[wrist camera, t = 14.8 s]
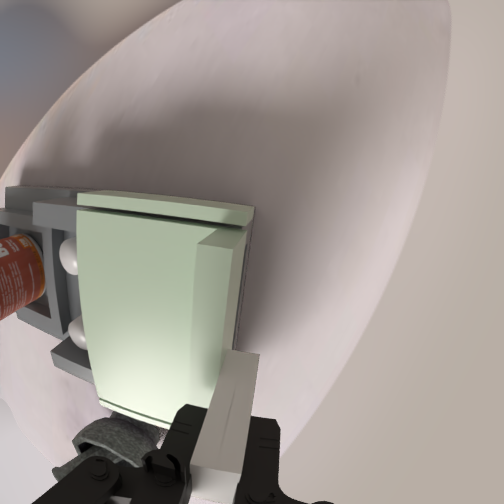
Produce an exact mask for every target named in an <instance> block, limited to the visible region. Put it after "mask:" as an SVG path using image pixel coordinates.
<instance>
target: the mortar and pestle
mask: <svg viewBox="0 0 504 504" xmlns="http://www.w3.org/2000/svg"><path fill="white" fill-rule="evenodd" d="M158 441H159V431H158V430H157V428H156V427H155V426H154V425H153V424H149V423H146V422H144V421H141V420H138V419H135V418H132V417H129V416H127V415H124V414H122V413H119V412H116V411H115V412H113V413H112V415H111V416H110V418H106V417H105V418H102V419H99V420H96V421H94V422H92V423H91V424H89V425H87V426H86V427H85V428H84V429H82V430H81V431H80V432H79V433H78V434H77V435H76V436H75V438H74V439H73V440H72V443H73V445H74V447H75V449H76V451H77V453H78V456H77V457H75V458H74V459H72V460H71V461H69V462H68V463H66V464H64V465H63V466H61V467H55V468H53V469H52V473H53V475H54V477H55V478H56V480H57V481H58V482H59V481H60V480H61V479H62V478H64V477H65V476H66V475H67V474H68V473H70V472H71V471H72V470H73V469H74V468H75V467H77V466H78V465H79V464H80V463H81V462H82V461H84V460H85V459H87V458H89V457H91V456H103V457H106V458H108V459H110V460H112V461H113V462H114V463H115V464H116V465H117V466H125V467H143V465H142V461H141V458H142V457H143V456H144V454H145V453H147V452H149V451H151V450H157V449H158V448H157V446H156V445H157V443H158Z"/></svg>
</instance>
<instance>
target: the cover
mask: <svg viewBox="0 0 504 504" xmlns="http://www.w3.org/2000/svg"><path fill="white" fill-rule="evenodd" d="M77 205H86V206H95V207H104V208H113V209H121V210H129V211H138V212H146V213H154V214H161V215H169V216H177V217H184V218H191V219H199V220H206V221H213V222H220V223H227V224H234V225H241V226H247V224H248V223H249V222H250V221H251V220H252V218H253V214H254V206H247V205H240V204H233V203H225V202H217V201H210V200H201V199H193V198H185V197H176V196H166V195H157V194H147V193H136V192H125V191H113V190H103V191H93V192H83V193H77ZM246 235H247V230H242V229H236V228H229V227H222V226H215V225H208V224H201V223H194V222H187V221H180V220H173V219H165V218H158V217H150V216H143V215H135V214H127V213H119V212H111V211H103V210H94V209H80V210H77V223H76V237H77V267H78V281H79V293H80V302H81V311H82V318H83V326H84V332H85V338H86V344H87V349H88V355H89V360H90V364H91V369H92V373H93V378H94V382H95V386H96V390H97V394H98V397H100V399H99V401H100V405H102V406H104V407H107V408H109V409H111V410H114V411H116V412H119V413H122V414H124V415H127V416H129V417H132V418H135V419H138V420H141V421H144V422H146V423H149V424H153V425H156V426H159V427H162V428H165V429H170V426H171V424H172V422H173V419H174V417H175V415H176V413H177V411H178V410H179V409H180V408H181V407H183V406H184V405H185V404H190V405H195V406H199V407H203V408H209V405H210V402H211V399H212V396H213V392H214V389H215V386H216V383H217V380H218V377H219V375H220V372H221V369H222V366H223V363H224V360H225V357H226V354H227V350H228V349H231V350H232V342H233V335H234V327H235V319H236V311H237V303H238V296H239V288H240V280H241V273H242V265H243V258H244V250H245V243H246Z"/></svg>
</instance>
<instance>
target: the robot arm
mask: <svg viewBox="0 0 504 504" xmlns="http://www.w3.org/2000/svg"><path fill="white" fill-rule="evenodd" d="M259 356H260V354H253V353H247V352H242V351H236V350H231V349H228V350H227V354H226V357H225V360H224V363H223V366H222V369H221V372H220V375H219V377H218V380H217V383H216V386H215V389H214V392H213V396H212V399H211V402H210V405H209V408H203V407H199V406H195V405H190V404H185V405H184V406H183V407H181V408H180V409H179V410H178V411H177V413H176V415H175V417H174V419H173V422H172V424H171V426H170V429H169V430H168V433H167V435H166V437H165V439H164V442H163V444H162V446H161V448H160V449H157V450H151V451H149V452H147V453H145V454H144V456H143V457H142V458H141V461H142V465H143V467H125V466H117V465H116V464H115V463H114V462H113V461H112V460H110V459H108V458H106V457H103V456H91V457H89V458H87V459H85V460H84V461H82V462H81V463H80V464H79V465H78V466H77V467H75V468H74V469H73V470H72V471H71V472H70V473H68V474H67V475H66V476H65V477H64V478H62V479H61V480H60V481H59V482H58V483H57V484H55V485H54V486H53V487H52V488H50V489H49V490H48V491H47V492H46V493H44V494H43V495H42V496H41V497H39V498H38V499H37V500H36V501H34V502H33V503H32V504H188V503H189V499H190V496H191V497H195V498H199V499H204V500H208V501H213V502H218V503H224V504H308V503H304V502H301V501H297V500H294V499H292V498H290V497H288V496H287V495H285V494H284V493H283V492H282V490H281V489H280V487H279V484H278V473H279V472H278V471H279V453H280V451H279V449H280V430H281V429H280V427H279V425H278V423H277V421H276V419H269V418H261V417H255V416H251V411H252V404H253V398H254V391H255V384H256V377H257V370H258V363H259ZM312 504H334V503H331V502H327V501H318V502H315V503H312Z"/></svg>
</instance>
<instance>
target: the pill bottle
mask: <svg viewBox="0 0 504 504" xmlns="http://www.w3.org/2000/svg"><path fill="white" fill-rule="evenodd" d="M45 290H46V279H45V269H44V257H43V253H42V251H41V249H40V247H39V245H38V244H37V242H36V241H35V240H34V239H33V238H32V237H31V236H29V235H27V234H17V235H14V236H10V237H7V238H4V239H1V240H0V321H1V320H2V319H4V318H5V317H7V316H9V315H10V314H12V313H14V312H15V311H17V310H19V309H20V308H22V307H24V306H26V305H27V304H29V303H31V302H33V301H34V300H36V299H38V298H39V297H41V296H42V295H43V293H44V292H45Z"/></svg>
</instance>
